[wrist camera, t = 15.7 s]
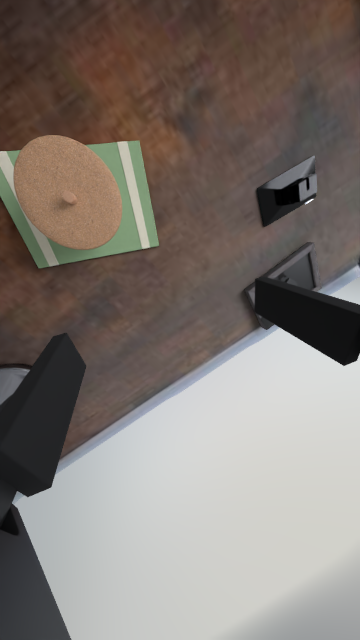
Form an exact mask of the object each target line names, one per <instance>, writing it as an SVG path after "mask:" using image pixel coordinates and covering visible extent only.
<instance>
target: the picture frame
mask: <svg viewBox="0 0 360 640" xmlns="http://www.w3.org/2000/svg"><path fill="white" fill-rule="evenodd" d="M264 276H265V277H268V278H272V279H275V280H278V281H282V282H285V283H288V284H292V285H295V286H298V287H302V288H305V289H308V290H312V291H315V292H317V291H319V290H320V289H321V288H322V287H321V281H320V275H319V269H318V263H317V258H316V252H315V246H314V243H311V242H307V243H306V244H305V245H303V246H302V247H301V248H299V249H298V250H297V251H295V252H294V253H293V254H291V255H290V256H289V257H287V258H286V259H285V260H283V261H282V262H281V263H279V264H278V265H277V266H275V267H274V268H273V269H271V270H270V271H269V272H267V273H266V274H265V275H263V276H262V277H264ZM245 293H246V295H247V297H248V299H249V301H250V303H251V306H252V308H253V310H254V307H255V282H254V283H253V284H251V285H250V286H249V287H247V288H246V289H245ZM255 314H256V316H257V318H258V321H259V323H260V325H261V327H262V328H264V329H266V330H267V329H269V328H270V327H271V326H273V325H274V324H273V323H272V322H270V321H268V320H267V319H265V318H263V317H262V316H260V315H258V314H257V313H255Z"/></svg>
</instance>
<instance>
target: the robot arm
mask: <svg viewBox="0 0 360 640" xmlns="http://www.w3.org/2000/svg"><path fill="white" fill-rule="evenodd" d="M254 312H255V313H257V314H258V315H260V316H262V317H263V318H265V319H267V320H268V321H270V322H272V323H273V324H275V325H277V326H278V327H280V328H282V329H283V330H285V331H287V332H288V333H290V334H292V335H293V336H295V337H297V338H298V339H300V340H302V341H303V342H305V343H307V344H308V345H310V346H312V347H313V348H315V349H317V350H318V351H320V352H322V353H323V354H325V355H327V356H328V357H330V358H332V359H334V360H335V361H337V362H338V363H340V364H342V365H343V366H345V365H347V364H350V363H352V362H355V361H357V359H358V356H359V354H360V305H358V304H355V303H352V302H349V301H345V300H342V299H338V298H335V297H332V296H328V295H325V294H322V293H318V292H315V291H312V290H308V289H305V288H302V287H298V286H295V285H292V284H288V283H285V282H282V281H278V280H275V279H272V278H268V277H265V276H264V277H260V278H257V279H255V307H254ZM85 369H86V364H85V363H84V361H83V359H82V358H81V356H80V354H79V353H78V351H77V349H76V348H75V346H74V344H73V343H72V341H71V339H70V338H69V336H68V334H67V333H64V334H60V335H57V336H53V338H52V339H51V340H50V342H49V343H48V345H47V346H46V348H45V349H44V350H43V352H42V353H41V355H40V356H39V358H38V359H37V360H36V362H35V363H34V365H33V366H31V365H25V364H5V365H0V640H71V638H70V636H69V633H68V631H67V628H66V626H65V623H64V621H63V618H62V616H61V614H60V611H59V609H58V606H57V604H56V601H55V599H54V596H53V594H52V592H51V589H50V587H49V584H48V582H47V580H46V577H45V575H44V572H43V570H42V567H41V565H40V562H39V560H38V557H37V555H36V552H35V550H34V548H33V545H32V543H31V540H30V538H29V535H28V533H27V531H26V528H25V526H24V523H23V521H22V518H21V516H20V513H19V511H18V509H17V508H16V507H15V506H14V505H13V504H12V501H13V499H14V497H15V494H16V492H17V491H19V492H20V493H22V494H23V495H25V496H27V497H29V496H32V495H34V494H36V493H39V492H41V491H44V490H46V489H49V488H51V486H52V483H53V479H54V476H55V472H56V469H57V465H58V462H59V459H60V455H61V452H62V448H63V445H64V441H65V438H66V434H67V431H68V428H69V424H70V421H71V417H72V414H73V410H74V407H75V403H76V400H77V397H78V393H79V390H80V386H81V383H82V379H83V376H84V372H85Z"/></svg>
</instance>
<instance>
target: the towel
mask: <svg viewBox="0 0 360 640" xmlns="http://www.w3.org/2000/svg"><path fill="white" fill-rule="evenodd" d="M85 146H87V147H88V148H89V149H91V150H92V151H93V152H94V153H95V154H96V155H98V156H99V157H100V158H101V159H102V161H103V162H104V163H105V164H106V166H107V167H108V168H109V170H110V171H111V173H112V175H113V176H114V178H115V181H116V183H117V185H118V188H119V191H120V195H121V200H122V218H121V223H120V226H119V228H118V230H117V232H116V234H115V235H114V236H113V238H112V239H111V240H110V241H108V242H107V243H106V244H104V245H102V246H100V247H98V248H94V249H89V250H76V249H71V248H68V247H65V246H62V245H60V244H58V243H56V242H54V241H52V240H51V239H49V238H47V237H46V236H45V235H44V234H42V233H41V232H40V231H39V230H38V229H37V228H36V227H35V226H34V225H33V224H32V223H31V221H30V220H29V219H28V217H27V216H26V214H25V213H24V211H23V209H22V208H21V206H20V203H19V201H18V199H17V195H16V192H15V188H14V180H13V174H14V166H15V161H16V159H17V157H18V154H19V152H20V151H21V150H18V151H0V196H1V198H2V200H3V202H4V204H5V206H6V208H7V210H8V212H9V213H10V215H11V217H12V219H13V221H14V223H15V225H16V227H17V229H18V230H19V232H20V234H21V236H22V238H23V240H24V242H25V244H26V246H27V247H28V249H29V251H30V253H31V255H32V257H33V259H34V261H35V263H36V264H37V266H38V268H44V267H49V266H55V265H60V264H65V263H70V262H76V261H81V260H86V259H92V258H97V257H102V256H108V255H113V254H118V253H123V252H129V251H134V250H139V249H145V248H150V247H155V246H159V242H158V237H157V231H156V226H155V221H154V216H153V211H152V205H151V200H150V195H149V190H148V184H147V179H146V174H145V169H144V163H143V158H142V153H141V148H140V143H139V141H130V142H127V141H125V142H117V143H105V144H93V145H85Z"/></svg>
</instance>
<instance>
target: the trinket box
mask: <svg viewBox="0 0 360 640" xmlns="http://www.w3.org/2000/svg"><path fill="white" fill-rule="evenodd" d="M13 180H14V188H15V192H16V195H17V199H18V201H19V203H20V206H21V208H22V209H23V211H24V213H25V214H26V216H27V217H28V219H29V220H30V221H31V223H32V224H33V225H34V226H35V227H36V228H37V229H38V230H39V231H40V232H41V233H42V234H44V235H45V236H46V237H47V238H49V239H51V240H52V241H54V242H56V243H58V244H60V245H62V246H65V247H68V248H71V249H76V250H89V249H94V248H98V247H100V246H102V245H104V244H106V243H107V242H108V241H110V240H111V239H112V238H113V236H114V235H115V234H116V232H117V230H118V228H119V226H120V223H121V218H122V200H121V195H120V191H119V188H118V185H117V183H116V181H115V178H114V176H113V175H112V173H111V171H110V170H109V168H108V167H107V166H106V164H105V163H104V162H103V161H102V159H101V158H100V157H99V156H98V155H96V154H95V153H94V152H93V151H92V150H91V149H89V148H88V147H87V146H85V145H83V144H82V143H80V142H78V141H76V140H73V139H71V138H68V137H64V136H59V135H46V136H41V137H38V138H36V139H34V140H31V141H30V142H29V143H28V144H26V145H25V146H24V147H23V149H22V150H21V151H20V152H19V154H18V157H17V159H16V161H15V166H14V174H13Z"/></svg>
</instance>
